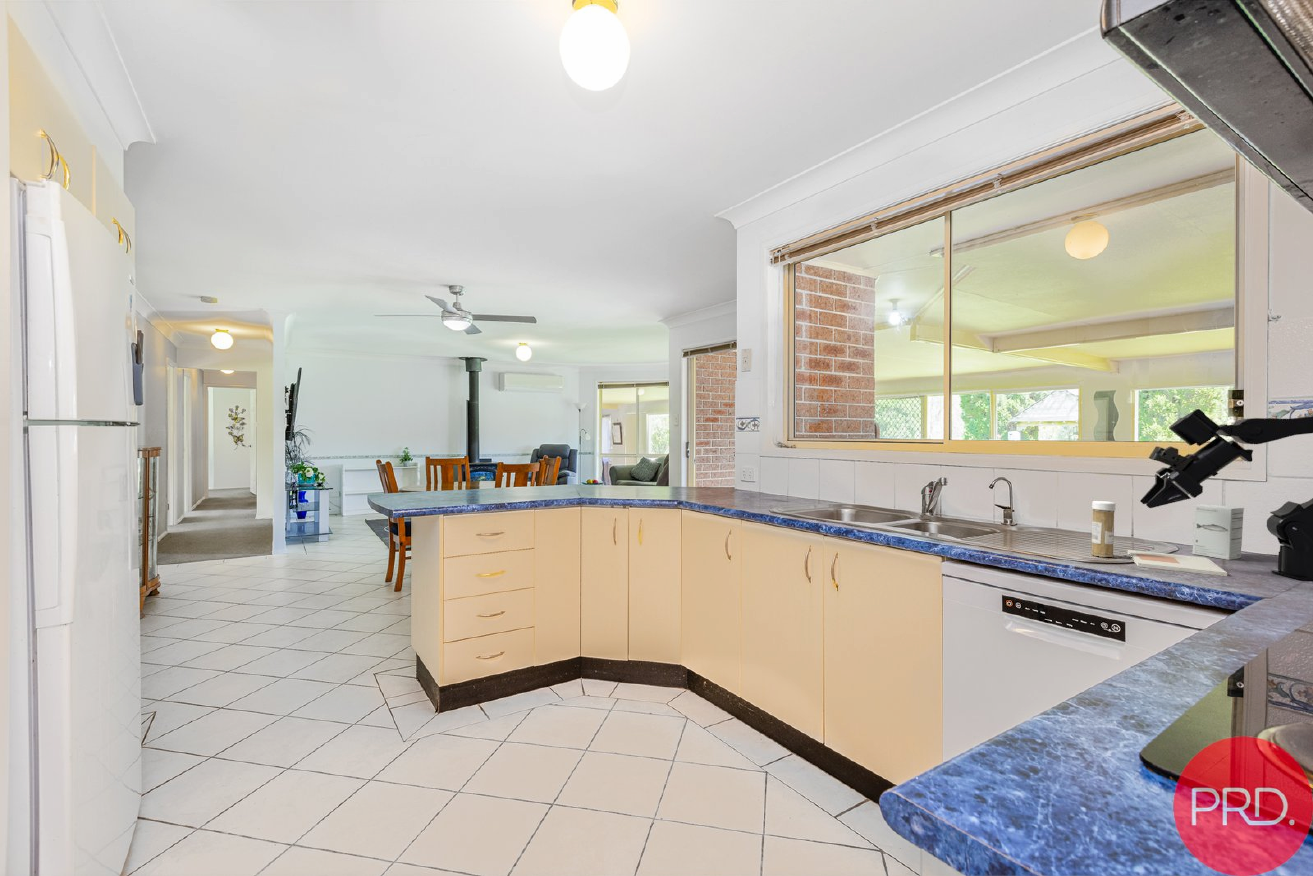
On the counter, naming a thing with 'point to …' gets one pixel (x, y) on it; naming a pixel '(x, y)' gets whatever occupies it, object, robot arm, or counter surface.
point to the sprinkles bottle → (1103, 528)
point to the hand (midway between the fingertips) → (1144, 504)
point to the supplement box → (1218, 531)
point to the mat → (1176, 562)
